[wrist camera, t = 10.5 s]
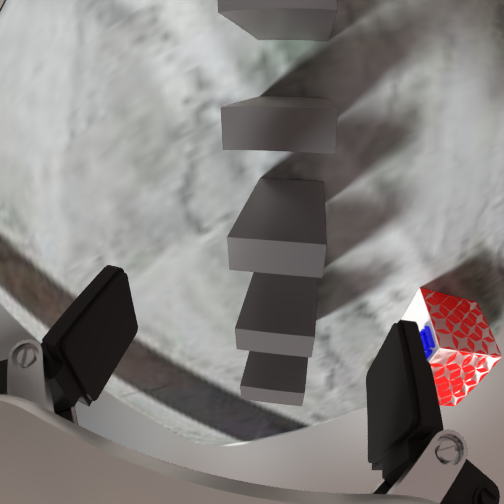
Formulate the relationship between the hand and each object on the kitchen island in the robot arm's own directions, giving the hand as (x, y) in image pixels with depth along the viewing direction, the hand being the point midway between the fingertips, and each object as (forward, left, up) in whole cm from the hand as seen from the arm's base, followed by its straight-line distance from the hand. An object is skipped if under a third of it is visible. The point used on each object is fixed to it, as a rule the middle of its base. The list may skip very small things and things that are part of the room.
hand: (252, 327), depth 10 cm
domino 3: (+1, 0, -16) cm, 16 cm away
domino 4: (+8, 0, -16) cm, 18 cm away
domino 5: (+14, 0, -16) cm, 21 cm away
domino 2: (-5, 0, -16) cm, 17 cm away
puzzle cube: (+14, +16, -16) cm, 27 cm away
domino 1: (-12, 0, -16) cm, 20 cm away
